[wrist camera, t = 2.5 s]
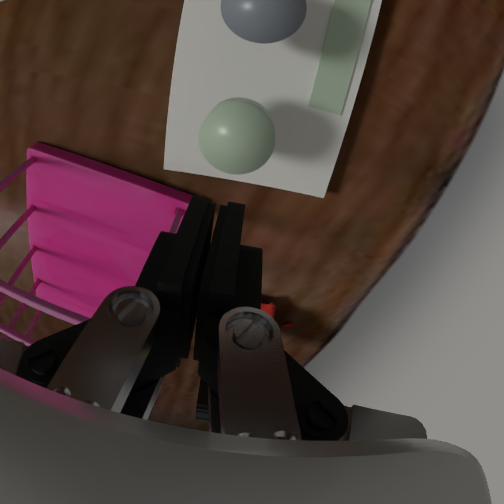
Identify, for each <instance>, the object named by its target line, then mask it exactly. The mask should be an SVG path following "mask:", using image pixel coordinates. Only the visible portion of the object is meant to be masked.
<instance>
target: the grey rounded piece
mask: <svg viewBox="0 0 504 504" xmlns="http://www.w3.org/2000/svg"><path fill="white" fill-rule="evenodd" d="M306 11H307V4H306V0H221V14H222V17H223V20H224V22H225V24H226V25H227V26H228V28H229V29H230V30H231V31H232V32H233V33H234V34H236V35H237V36H239V37H240V38H243V39H245V40H247V41H250V42H255V43H261V44H267V43H274V42H278V41H281V40H284V39H286V38H288V37H290V36H291V35H293V34H294V33H295V32H296V31H297V30H298V29H299V28H300V26H301V25H302V23H303V21H304V19H305V16H306Z"/></svg>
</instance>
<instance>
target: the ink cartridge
mask: <svg viewBox="0 0 504 504" xmlns="http://www.w3.org/2000/svg"><path fill="white" fill-rule="evenodd" d="M208 387H209V386H208V385H207V384H206V383H205V382H204V381H203V379H202V378H201V380H200V387H199V393H198V400H197V407H196V421H202V422H209V405H208Z"/></svg>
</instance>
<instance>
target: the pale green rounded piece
mask: <svg viewBox="0 0 504 504" xmlns="http://www.w3.org/2000/svg"><path fill="white" fill-rule="evenodd" d="M198 140H199V147H200V150H201V152H202V154H203V156H204V158H205V159H206V160H207V161H208V162H209V164H211V165H212V166H213V167H214V168H216V169H218V170H220V171H222V172H225V173H228V174H235V175H240V174H247V173H250V172H253V171H255V170H257V169H259V168H260V167H262V166H263V165H264V164H265V163H266V162H267V161H268V160H269V158H270V157H271V155H272V153H273V150H274V147H275V129H274V123H273V120H272V117H271V115H270V114H269V112H268V111H267V110H266V108H264V107H263V106H262V105H261V104H260V103H258V102H256V101H254V100H251V99H248V98H242V97H236V98H230V99H227V100H224V101H222V102H220V103H219V104H217V105H216V106H215V107H214V108H213V109H212V110H211V111H210V113H209V114H208V115H207V117H206V118H205V119H204V121H203V123H202V125H201V127H200V130H199V137H198Z"/></svg>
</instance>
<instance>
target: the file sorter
mask: <svg viewBox="0 0 504 504" xmlns="http://www.w3.org/2000/svg"><path fill="white" fill-rule="evenodd" d="M26 169H27V176H26V179H27V211H26V212H25V213H24V214H23V215H22V216H21V217H20V218H19V219H18V220H17V221H16V222H15V223H14V224H13V225H12V226H11V228H10V229H9V230H8V231H7V232H6V233H5V234H4V236H3V237H2V238H1V239H0V249H1V248H2V247H3V245H4V244H5V243H6V242H7V241H8V239H9V238H10V237H11V236H12V235H13V234H14V232H15V231H16V230H17V229H18V228H19V227H20V226H21V225H22V224H23V222H24V221H25V220H26V219H27V218H28V231H29V243H30V251H29V253H28V254H27V255H26V257H25V258H24V259H23V261H22V262H21V264H20V265H19V267H18V268H17V269H16V271H15V272H14V274H13V275H12V277H11V278H10V280H9V281H8V283H6V282H4V281H2V280H0V291H1V294H0V305H1V303H2V302H3V300H4V298H5V297H6V295H9V296H11V297H13V298H15V299H17V300H19V301H21V302H22V304H21V305H20V307H19V308H18V310H17V312H16V313H15V315H14V317H13V319H12V320H11V322H10V324H9V325H8V327H7V326H5V325H3V324H2V323H0V332H2V333H4V334H3V336H2V338H1V339H4V340H6V339H7V338H8V336H10V337H11V338H13V339H15V340H17V341H19V342H24V344H25V345H27V346H30V345H31V344H33V343H35V342H36V341H35V340H33V339H31V338H29V335H30V333H31V331H32V330H33V328H34V326H35V324H36V322H37V320H38V319H39V317H40V315H41V313H42V312H45V313H47V314H50V315H52V316H55V317H57V318H59V319H62V320H64V321H67V322H69V323H72V324H75V325H77V324H79V323H81V322H84V321H86V320H88V319H91V317H92V316H93V315H94V313H95V312H96V310H97V309H98V307H99V306H100V304H101V303H102V302H103V300H104V299H105V298H106V297H107V296H108V294H109V293H110V292H112V291H114V290H116V289H118V288H121V287H125V286H135V285H136V282H137V280H138V278H139V276H140V273H141V271H142V269H143V267H144V265H145V263H146V260H147V258H148V256H149V254H150V252H151V250H152V248H153V245H154V243H155V241H156V239H157V237H158V235H159V233H160V232H161V231H165V232H171V233H177V231H178V228H179V226H180V224H181V221H182V219H183V217H184V214H185V212H186V210H187V207H188V205H189V203H190V200H191V198H192V196H193V195H190V194H187V193H185V192H182V191H179V190H177V189H174V188H171V187H168V186H166V185H163V184H160V183H157V182H154V181H152V180H149V179H146V178H143V177H140V176H138V175H135V174H132V173H129V172H126V171H123V170H121V169H118V168H115V167H112V166H109V165H106V164H103V163H100V162H97V161H95V160H92V159H89V158H86V157H83V156H80V155H77V154H74V153H71V152H68V151H65V150H62V149H59V148H56V147H53V146H50V145H47V144H44V143H41V142H36V143H35V144H33V145H32V146H31V147H29V148H28V149H27V161H25V162H24V163H23V164H22V165H20V166H19V167H18V168H16V169H15V170H14V171H13V172H12V173H10V174H9V175H8V176H7V177H5V178H4V179H3V180H2V181H1V182H0V192H1V191H2V190H3V189H4V188H5V187H6V186H7V185H9V184H10V183H11V182H12V181H13V180H14V179H15V178H17V177H18V176H19V175H20V174H21V173H22V172H23V171H25V170H26ZM30 259H31V262H32V269H33V277H34V285H33V286H32V288H31V289H30V291H29V292H28V293H27V292H25V291H23V290H20V289H18V288H16V287H14V286H13V284H14V282H15V281H16V279H17V278H18V276H19V275H20V273H21V272H22V270H23V269H24V267H25V266H26V265H27V263H28V262H29V260H30ZM35 290H36V295H37V297H36V296H34V295H33V293H34V292H35ZM26 304H27V305H29V306H31V307H34V308H36V309H38V312H37V314H36V316H35V317H34V319H33V321H32V323H31V324H30V326H29V328H28V330H27V332H26V333H25V335H23V334H21V333H19V332H17V331H15V330H13V327H14V325H15V323H16V322H17V320H18V318H19V316H20V315H21V313H22V311H23V310H24V308H25V306H26Z"/></svg>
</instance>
